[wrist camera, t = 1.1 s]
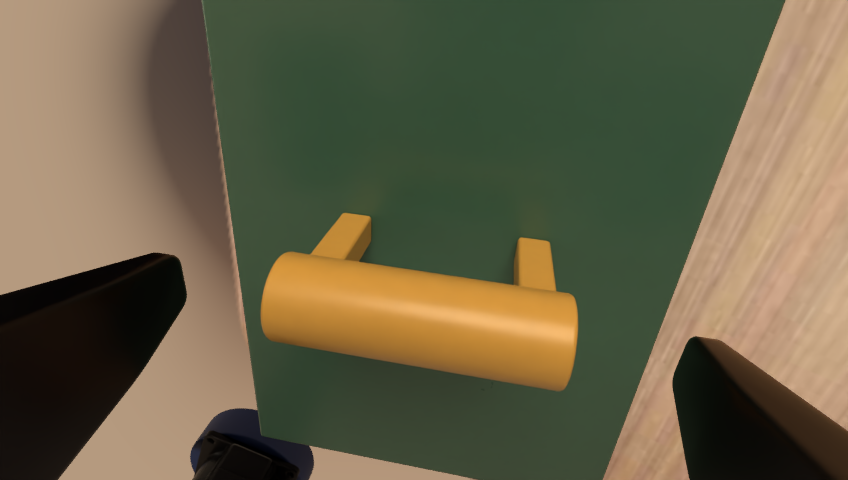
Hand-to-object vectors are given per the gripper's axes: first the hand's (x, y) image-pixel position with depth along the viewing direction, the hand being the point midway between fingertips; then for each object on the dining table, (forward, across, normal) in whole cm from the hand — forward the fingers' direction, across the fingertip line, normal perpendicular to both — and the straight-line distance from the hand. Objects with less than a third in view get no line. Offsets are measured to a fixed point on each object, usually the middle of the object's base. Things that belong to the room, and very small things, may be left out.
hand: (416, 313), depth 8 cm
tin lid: (+4, 0, 0) cm, 4 cm away
